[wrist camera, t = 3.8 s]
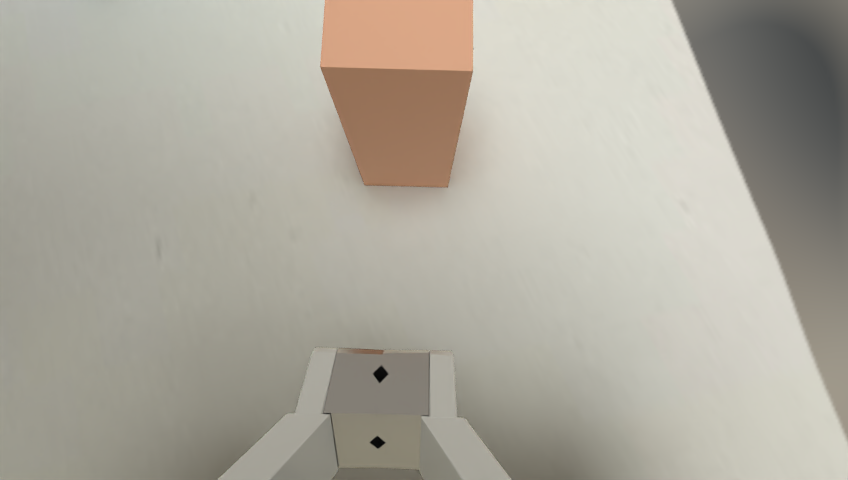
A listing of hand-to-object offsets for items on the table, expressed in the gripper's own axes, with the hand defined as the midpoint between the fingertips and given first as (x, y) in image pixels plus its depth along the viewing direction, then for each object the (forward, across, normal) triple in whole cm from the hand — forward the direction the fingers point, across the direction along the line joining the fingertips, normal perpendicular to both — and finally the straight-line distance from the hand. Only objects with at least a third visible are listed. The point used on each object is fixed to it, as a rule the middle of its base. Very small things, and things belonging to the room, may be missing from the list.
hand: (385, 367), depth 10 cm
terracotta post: (+14, 0, +1) cm, 14 cm away
